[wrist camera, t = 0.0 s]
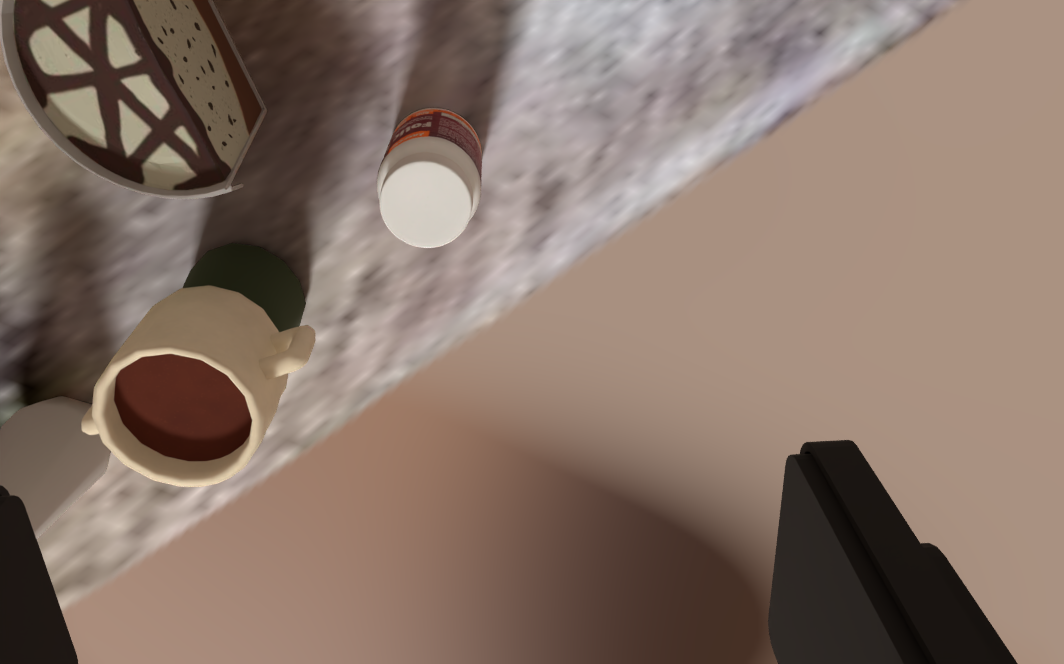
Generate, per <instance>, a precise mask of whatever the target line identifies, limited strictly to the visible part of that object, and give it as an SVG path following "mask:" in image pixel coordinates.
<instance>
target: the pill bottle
mask: <svg viewBox="0 0 1064 664" xmlns="http://www.w3.org/2000/svg"><path fill="white" fill-rule="evenodd" d="M481 169H482V150H481V144H480V141H479V138H478V136H477V134H476V132H475V130H474V129H473V127H472V126H471V125H470V124H469V123H468V122H467V121H466V120H465V119H464V118H463V117H461V116H460V115H458V114H456V113H454V112H452V111H449V110H446V109H442V108H426V109H422V110H418V111H416V112H414V113H412V114H410V115H409V116H407V117H406V118H405V119H404V120H402V121H401V122H400V124H399V125H398V126H397V128H396V130H395V131H394V133H393V136H392V138H391V140H390V143H389V145H388V148H387V150H386V153H385V156H384V159H383V160H382V163H381V165H380V168H379V171H378V177H377V193H378V197H379V200H380V201H379V202H380V211H381V215H382V218H383V220H384V222H385V224H386V225H387V227H388V228H389V230H390V231H391V232H392V233H393V234H394V235H395V236H396V237H397V238H399V239H400V240H402V241H403V242H405V243H407V244H410V245H413V246H417V247H422V248H434V247H439V246H442V245H445V244H447V243H449V242H451V241H453V240H454V239H456V238H457V237H458V236H459V235H460V234H461V233H462V232H463V230H464V229H465V228H466V226H467V224H468V222H469V220H470V219H471V218H472V216H473V215H474V213H475V211H476V209H477V207H478V205H479V201H480V197H481Z"/></svg>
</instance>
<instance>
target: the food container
mask: <svg viewBox="0 0 1064 664" xmlns="http://www.w3.org/2000/svg"><path fill="white" fill-rule="evenodd" d="M0 41H1V45H2V50H3V55H4V60H5V64H6V66H7V69H8V72H9V75H10V77H11V80H12V83H13V86H14V88H15V89H16V91H17V93H18V95H19V97H20V99H21V101H22V103H23V104H24V106H25V108H26V110H27V111H28V112H29V114H30V115H31V117H32V118H33V119H34V121H35V122H36V124H37V125H38V126H39V128H40V129H41V130H42V131H43V132H44V133H45V135H46V136H47V137H48V138H49V139H50V140H51V141H52V142H53V143H54V144H55V145H56V146H57V147H58V148H59V149H60V150H61V151H62V152H64V153H65V154H66V155H67V156H68V157H70V158H71V159H72V160H73V161H74V162H76V163H77V164H79V165H80V166H82V167H83V168H85V169H86V170H88V171H90V172H91V173H93V174H94V175H96V176H97V177H100V178H102V179H104V180H106V181H108V182H110V183H112V184H114V185H117V186H119V187H122V188H125V189H128V190H131V191H134V192H138V193H141V194H144V195H150V196H155V197H161V198H167V199H198V198H206V197H214V196H217V195H221V194H224V193H228V192H231V191H234V190H237V189H240V188H242V187H244V186H243V184H238V185H235V186H232V185H231V183H232V181H233V179H234V177H235V175H236V173H237V171H238V169H239V167H240V165H241V163H242V161H243V159H244V157H245V155H246V153H247V151H248V149H249V147H250V145H251V143H252V141H253V139H254V137H255V135H256V133H257V131H258V129H259V127H260V125H261V123H262V121H263V119H264V117H265V115H266V113H267V109H266V107H265V105H264V103H263V101H262V99H261V97H260V95H259V93H258V91H257V89H256V87H255V85H254V83H253V81H252V79H251V77H250V75H249V73H248V71H247V69H246V67H245V65H244V63H243V61H242V59H241V57H240V55H239V53H238V51H237V48H236V46H235V44H234V42H233V40H232V38H231V36H230V34H229V32H228V30H227V28H226V26H225V24H224V22H223V20H222V18H221V16H220V14H219V12H218V10H217V8H216V6H215V4H214V2H213V0H0Z"/></svg>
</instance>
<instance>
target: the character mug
mask: <svg viewBox="0 0 1064 664" xmlns="http://www.w3.org/2000/svg"><path fill="white" fill-rule="evenodd" d="M305 305H306V302H305V298H304V295H303V291H302V288H301V284H300V281H299V280H298V279H297V277H296V276H295V275H294V274H293V272H292V271H291V270H290V269H289V267H288V266H287V265H286V264H285V262H284V261H283V260H281V259H279V258H278V257H276V256H274V255H272V254H271V253H269V252H267V251H266V250H264V249H262V248H261V247H258V246H250V245H243V244H236V243H231V244H228V245H225V246H222V247H219V248H216V249H214V250H211V251H208V252H207V253H206V254H205V255H204V256H203V257H202V258H201V260H200V261H199V262H198V263H197V264H196V265H195V266H194V267H193V268H192V269H191V271H190V273H189V275H188V277H187V279H186V281H185V283H184V286H183V288H181V289H179V290H178V291H176V292H174V293H173V294H171V295H170V296H168V297H166V298H165V299H163V300H162V301H160V302H158V303H157V304H155V305H154V306H153V307H152V308H151V309H150V310H149V312H148V313H147V314H146V315H145V317H144V318H143V319H142V321H141V322H140V323H139V325H138V326H137V327H136V328H135V330H134V331H133V332H132V334H131V335H130V336H129V337H128V339H127V340H126V341H125V343H124V344H123V345H122V346H121V348H120V349H119V350H118V352H117V353H116V354H115V355H114V357H113V358H112V360H111V361H110V363H109V364H108V366H107V367H106V369H105V370H104V372H103V373H102V375H101V377H100V378H99V380H98V381H97V383H96V385H95V387H94V393H93V405H92V406H91V407H90V409H89V410H88V411H87V413H86V414H85V415H84V417H83V418H82V422H81V425H82V432H85V433H87V434H89V435H95V434H99V435H100V437H101V440H102V442H103V443H104V444H105V446H106V447H107V448H108V449H109V450H110V451H111V452H112V453H113V454H114V455H115V456H116V457H117V458H118V459H119V460H120V461H121V462H122V463H123V464H124V465H126V466H128V467H129V468H131V469H133V470H135V471H137V472H139V473H140V474H142V475H144V476H146V477H148V478H150V479H151V480H154V481H158V482H163V483H167V484H171V485H176V486H180V487H202V486H208V485H213V484H217V483H220V482H222V481H224V480H226V479H229V478H231V477H232V476H233V475H235V474H236V473H238V472H239V471H240V470H242V469H243V468H244V467H245V466H246V465H247V463H248V462H249V460H250V459H251V457H252V456H253V454H254V453H255V451H256V450H257V448H258V447H259V445H260V444H261V442H262V440H263V438H264V435H265V433H266V430H267V429H268V427H269V425H270V423H271V421H272V419H273V417H274V415H275V413H276V411H277V407H278V403H279V400H280V397H281V395H282V393H283V392H284V390H285V389H286V384H287V379H288V373H290V372H294V371H296V370H298V369H300V368H302V367H304V365H305V364H306V363H307V362H308V360H309V357H310V354H311V352H312V349H313V346H314V343H315V331H314V329H313V328H311V327H310V326H308V325H305V326H299V325H300V322H301V319H302V315H303V312H304V308H305Z"/></svg>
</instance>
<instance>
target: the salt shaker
mask: <svg viewBox="0 0 1064 664" xmlns="http://www.w3.org/2000/svg"><path fill="white" fill-rule="evenodd" d="M92 405H93V404H89V403H86V402H82V401H79V400H75V399H71V398H68V397H64V396H59V397H55V398H52V399H48V400H45V401H41V402H38V403H35V404H32V405H29V406H27V407H24V408H21V409H20V410H18V411H17V412H16V413H15V414H14V415H13V416H12V417H11V418H10V419H9V420H8V421H7V422H6V423H5V424H4V425H3V426H2V427H1V429H0V485H2V486H3V487H5V488H6V489H7V490H8V492H9V494H10V495H15V496H18V497H19V498H20V499H21V500H22V501H23V503H24V505H25V508H26V511H27V513H28V516H29V519H30V522H31V525H32V528H33V531H34V534H35V536H36V539H37V538H39V537H40V536H41V535H42V534H43V533H44V532H45V531H46V530H47V529H48V528H49V527H50V526H51V525H52V524H53V523H54V522H55V521H56V520H57V519H58V518H59V517H60V516H61V515H62V514H63V513H64V512H65V511H66V510H68V509H69V508H70V507H71V506H72V505H73V504H74V503H75V502H76V501H77V500H78V499H79V498H80V497H81V496H82V495H83V494H84V493H85V492H86V491H87V490H88V489H89V488H90V487H91V486H92V485H93V484H94V483H95V482H96V481H97V480H98V479H99V478H100V477H101V476H102V475H103V474H105V472H106V469H107V466H108V462H109V457H110V453H111V451H110V450H109V449H108V448H107V447H106V446H105V444H104V443H103V442H102V440H101V437H100V435H99V434H95V435H89V434H87V433H85V432H82V425H81V422H82V418H83V417H84V415H85V414H86V413H87V411H88V410H89V409H90V407H91V406H92Z"/></svg>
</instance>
